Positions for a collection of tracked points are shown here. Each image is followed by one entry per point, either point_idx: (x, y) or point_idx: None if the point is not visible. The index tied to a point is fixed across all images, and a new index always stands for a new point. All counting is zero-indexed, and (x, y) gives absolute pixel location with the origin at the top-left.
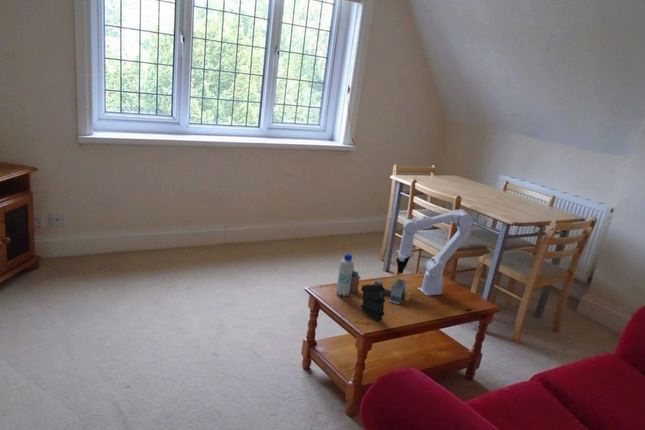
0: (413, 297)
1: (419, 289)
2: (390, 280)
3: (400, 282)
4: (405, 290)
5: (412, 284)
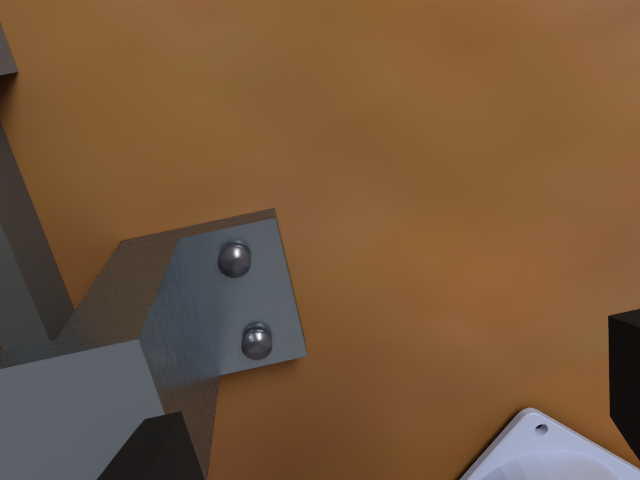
0: (235, 465)
1: (497, 440)
2: (534, 4)
3: (11, 475)
4: (291, 358)
5: (613, 310)
